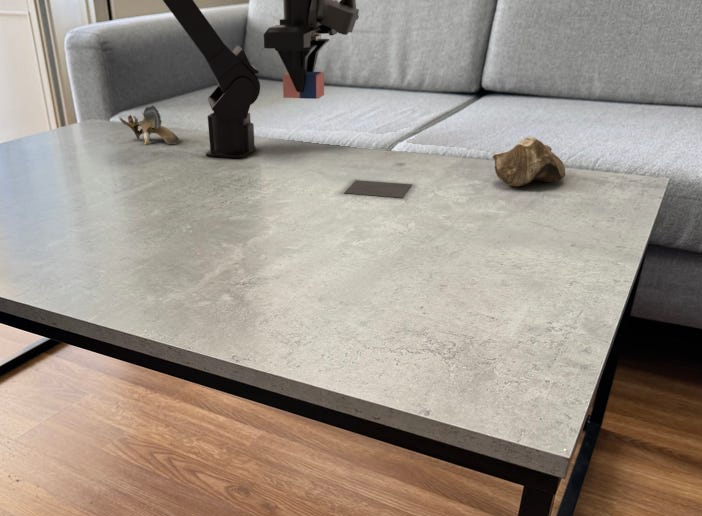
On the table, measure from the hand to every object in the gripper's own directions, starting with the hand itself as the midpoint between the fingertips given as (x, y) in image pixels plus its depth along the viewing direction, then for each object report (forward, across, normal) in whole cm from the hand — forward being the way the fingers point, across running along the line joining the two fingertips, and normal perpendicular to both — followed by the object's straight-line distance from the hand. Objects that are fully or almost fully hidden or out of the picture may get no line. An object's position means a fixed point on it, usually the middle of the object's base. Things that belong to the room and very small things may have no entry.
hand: (303, 89), depth 113 cm
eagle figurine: (+9, -2, +28) cm, 29 cm away
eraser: (+1, 0, 0) cm, 1 cm away
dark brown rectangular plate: (+9, -20, -17) cm, 28 cm away
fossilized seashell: (+10, -12, -36) cm, 39 cm away
